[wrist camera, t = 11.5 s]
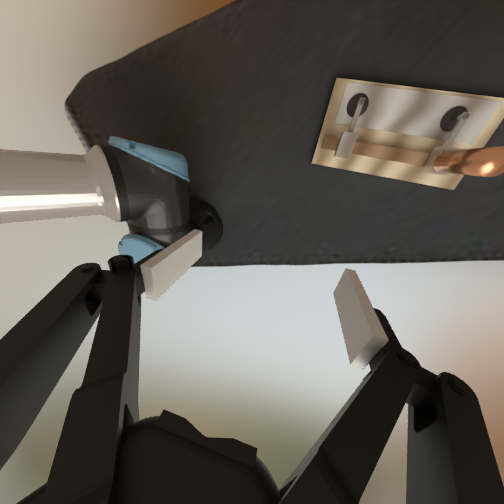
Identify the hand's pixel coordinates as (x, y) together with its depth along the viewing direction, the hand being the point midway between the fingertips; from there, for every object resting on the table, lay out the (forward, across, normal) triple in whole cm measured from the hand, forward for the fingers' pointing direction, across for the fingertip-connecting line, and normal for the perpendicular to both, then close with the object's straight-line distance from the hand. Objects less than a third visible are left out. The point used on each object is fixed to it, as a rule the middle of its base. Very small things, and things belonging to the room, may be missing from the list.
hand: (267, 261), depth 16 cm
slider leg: (+31, +24, +15) cm, 42 cm away
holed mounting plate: (+33, +17, +15) cm, 40 cm away
